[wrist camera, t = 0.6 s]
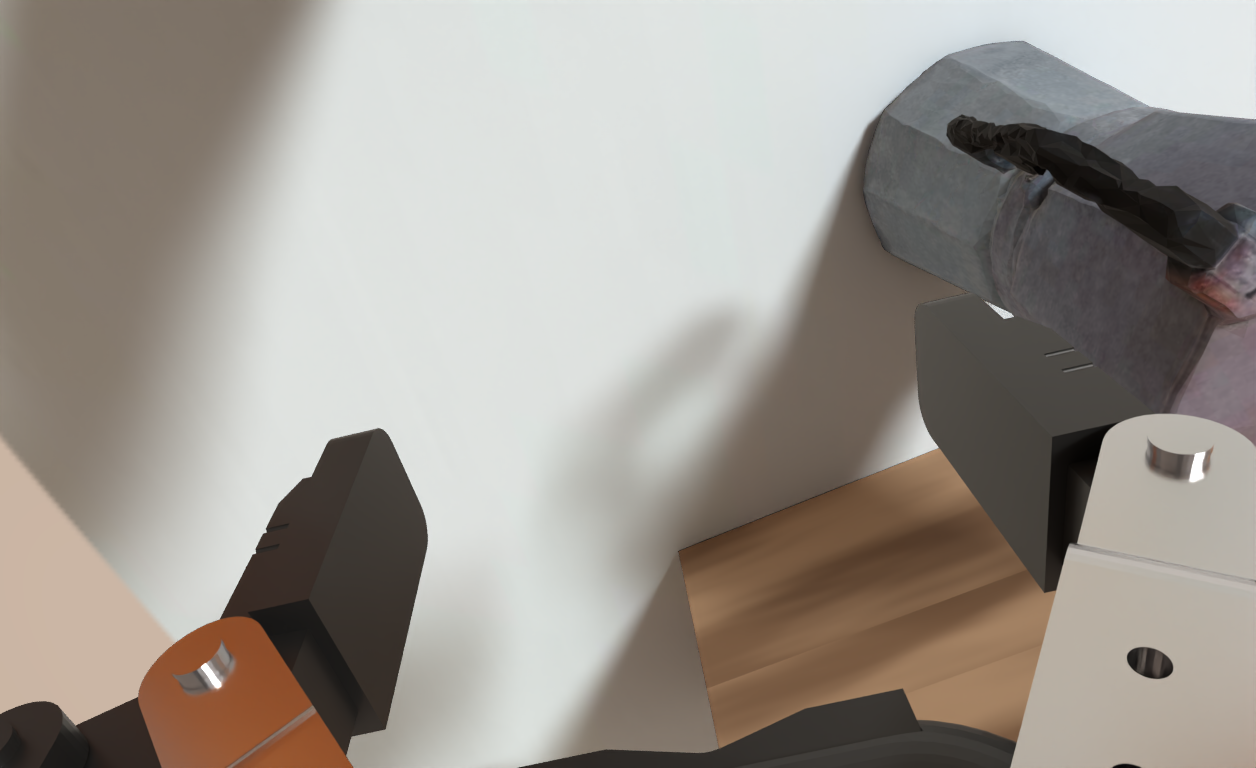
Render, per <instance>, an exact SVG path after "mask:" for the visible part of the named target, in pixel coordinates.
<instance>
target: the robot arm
mask: <svg viewBox="0 0 1256 768" xmlns="http://www.w3.org/2000/svg"><path fill="white" fill-rule="evenodd" d="M915 341H916V361H917V381H918V398H919V405H920V409H921V413H922V417H923V420H924V423H925V425H926V428H927V430H928V432H929V434H930V436H931V437H932V439H933V440H934V441H935V443H936V444H937V446H938V447H939V448H940V450H941V451H942V452H943V454H944V455H945V457H946V458H947V459H948V461H949V462H950V464H951V465H952V466H953V468H954V469H955V470H956V472H957V473H958V475H959V476H960V477H961V479H962V480H963V481H964V483H965V484H966V486H967V487H968V488H969V490H970V491H971V493H972V494H973V495H974V497H975V498H976V499H977V501H978V502H979V504H980V505H981V506H982V508H983V509H984V510H985V512H986V513H987V515H988V516H989V517H990V519H991V520H992V522H993V523H994V524H995V526H996V527H997V528H998V530H999V531H1000V533H1001V534H1002V535H1003V537H1004V538H1005V540H1006V541H1007V542H1008V544H1009V545H1010V546H1011V548H1012V549H1013V551H1014V552H1015V553H1016V555H1017V556H1018V557H1019V559H1020V560H1021V562H1022V563H1023V564H1024V566H1025V567H1026V569H1027V570H1028V571H1029V573H1030V574H1031V575H1032V577H1033V578H1034V580H1035V581H1036V582H1037V584H1038V585H1039V586H1040V588H1041V589H1042V591H1043V592H1044V593H1047V592H1052V591H1056V594H1055V598H1054V602H1053V606H1052V609H1051V613H1050V617H1049V621H1048V625H1047V629H1046V633H1045V636H1044V640H1043V644H1042V648H1041V652H1040V656H1039V659H1038V663H1037V667H1036V671H1035V675H1034V679H1033V682H1032V686H1031V690H1030V694H1029V698H1028V702H1027V706H1026V709H1025V713H1024V717H1023V721H1022V725H1021V729H1020V732H1019V736H1018V740H1017V742H1015V741H1013V740H1010V739H1007V738H1004V737H1002V736H999V735H996V734H993V733H990V732H988V731H985V730H981V729H977V728H972V727H968V726H964V725H960V724H954V723H948V722H941V721H934V720H917V719H916V717H915V714H914V712H913V710H912V708H911V705H910V703H909V701H908V699H907V696H906V694H905V692H904V690H903V688H902V689H897V690H892V691H888V692H883V693H878V694H873V695H868V696H863V697H859V698H854V699H849V700H844V701H839V702H834V703H829V704H825V705H820V706H815V707H810V708H805V709H803V710H801V711H799V712H796V713H794V714H792V715H790V716H788V717H786V718H784V719H782V720H779V721H777V722H775V723H773V724H771V725H769V726H767V727H764V728H762V729H760V730H758V731H756V732H754V733H752V734H750V735H747V736H745V737H743V738H741V739H739V740H737V741H735V742H733V743H730V744H728V745H726V746H724V747H722V748H720V749H717V750H715V751H712V752H707V753H680V752H654V751H628V750H602V751H597V752H592V753H587V754H582V755H577V756H572V757H568V758H563V759H558V760H553V761H548V762H543V763H539V764H534V765H529V766H524V767H519V768H1256V447H1255V446H1254V445H1253V444H1252V442H1251V441H1250V440H1248V439H1247V438H1246V437H1245V436H1243V435H1242V434H1240V433H1239V432H1237V431H1235V430H1233V429H1231V428H1229V427H1227V426H1225V425H1223V424H1220V423H1217V422H1214V421H1211V420H1207V419H1203V418H1199V417H1194V416H1188V415H1179V414H1155V413H1154V412H1153V411H1152V410H1151V409H1149V408H1148V407H1147V406H1146V405H1144V404H1143V403H1142V402H1141V401H1139V400H1138V399H1137V398H1136V397H1135V396H1133V395H1132V394H1131V393H1130V392H1128V391H1127V390H1126V389H1125V388H1124V387H1122V386H1121V385H1120V384H1119V383H1117V382H1116V381H1115V380H1114V379H1112V378H1111V377H1110V376H1109V375H1108V374H1106V373H1105V372H1104V371H1103V370H1101V369H1100V368H1099V367H1098V366H1097V367H1094V366H1093V362H1092V361H1090V360H1089V359H1088V358H1087V357H1086V356H1084V355H1083V354H1082V353H1081V352H1079V351H1075V350H1074V347H1073V346H1072V345H1071V344H1070V343H1068V342H1067V341H1066V340H1065V339H1063V338H1062V337H1061V336H1060V335H1059V334H1057V333H1056V332H1055V331H1054V330H1052V329H1051V328H1048V327H1045V326H1043V325H1040V324H1037V323H1034V322H1032V321H1029V320H1026V319H1023V318H1021V317H1018V316H1016V317H1012V318H1007V319H1003V318H1002V317H1001V316H1000V315H999V314H998V313H996V312H995V311H994V310H993V309H992V308H991V307H990V306H989V305H987V304H986V303H985V302H984V301H983V300H982V299H981V298H979V297H978V296H977V295H976V294H974V293H972V292H971V293H965V294H961V295H957V296H952V297H948V298H944V299H939V300H935V301H931V302H927V303H922V304H919V305H918V306H917V308H916V311H915ZM266 530H267V533H264V534H263V535H262V537H261V539H260V541H259V543H258V545H257V547H256V549H255V550H256V554H253V555H252V557H251V559H250V561H249V563H248V565H247V567H246V569H245V571H244V573H243V575H242V577H241V579H240V581H239V583H238V585H237V587H236V589H235V590H234V592H233V594H232V596H231V598H230V600H229V602H228V604H227V606H226V608H225V610H224V612H223V614H222V616H221V618H220V620H217V621H214V622H211V623H209V624H206V625H204V626H202V627H200V628H198V629H196V630H194V631H193V632H191V633H189V634H187V635H186V636H184V637H183V638H182V639H180V640H179V641H177V642H176V643H175V644H173V645H172V646H171V647H170V648H169V649H167V650H166V651H165V652H164V653H163V654H162V655H161V656H160V657H159V658H158V659H157V661H156V662H155V663H154V664H153V665H152V667H151V668H150V669H149V671H148V672H147V674H146V675H145V677H144V679H143V681H142V683H141V686H140V689H139V693H138V697H137V698H135V699H133V700H131V701H128V702H126V703H124V704H122V705H120V706H118V707H115V708H113V709H111V710H109V711H106V712H104V713H102V714H100V715H98V716H95V717H93V718H91V719H89V720H87V721H85V722H82V723H80V724H78V725H76V726H75V725H74V723H73V722H72V721H71V720H70V719H69V718H68V717H67V716H66V714H65V713H64V712H63V711H62V710H61V709H60V708H59V707H58V705H55V704H54V703H51V702H46V701H43V702H32V703H28V704H24V705H21V706H18V707H15V708H13V709H11V710H8V711H6V712H4V713H2V714H0V768H353V766H352V765H351V763H350V762H349V760H348V759H347V757H346V754H347V751H348V747H349V743H350V739H351V737H352V736H356V735H361V734H366V733H371V732H375V731H380V730H385V729H386V725H387V721H388V716H389V712H390V708H391V703H392V699H393V695H394V690H395V686H396V681H397V677H398V673H399V668H400V664H401V660H402V655H403V651H404V646H405V642H406V638H407V633H408V629H409V625H410V620H411V616H412V611H413V607H414V603H415V598H416V594H417V590H418V585H419V581H420V577H421V572H422V568H423V563H424V559H425V555H426V550H427V543H428V534H427V525H426V520H425V516H424V513H423V509H422V507H421V505H420V502H419V500H418V498H417V496H416V494H415V491H414V489H413V487H412V485H411V483H410V480H409V478H408V476H407V474H406V472H405V469H404V467H403V465H402V463H401V461H400V458H399V456H398V454H397V452H396V450H395V447H394V445H393V443H392V441H391V439H390V437H389V436H388V434H387V433H386V432H385V431H384V430H382V429H380V428H378V429H373V430H369V431H365V432H360V433H356V434H352V435H347V436H343V437H339V438H334V439H331V440H330V441H329V442H328V443H327V445H326V447H325V449H324V451H323V454H322V456H321V458H320V460H319V462H318V464H317V466H316V468H315V470H314V473H313V475H312V477H309V478H304V479H302V480H301V481H300V482H299V483H298V484H297V485H296V486H295V487H294V488H293V489H292V490H291V491H290V492H289V493H288V494H287V496H286V497H285V498H284V499H283V500H282V501H281V502H280V503H279V504H278V506H277V508H276V510H275V512H274V514H273V516H272V518H271V520H270V521H269V523H268V525H267V527H266Z"/></svg>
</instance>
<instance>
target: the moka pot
mask: <svg viewBox="0 0 1256 768" xmlns="http://www.w3.org/2000/svg"><path fill="white" fill-rule="evenodd" d="M863 193H864V198H865V203H866V206H867V209H868V211H869V214H870V217H871V220H872V222H873V225H874V227H875V230H876V232H877V235H878V237H879V239H880V241H881V244H882V246H883V248H884V249H885V250H886V251H888V252H889V253H891V254H892V255H894V256H896V257H898V258H900V259H902V260H904V261H905V262H907V263H909V264H912V265H914V266H916V267H918V268H920V269H922V270H924V271H926V272H928V273H931V274H933V275H935V276H937V277H939V278H941V279H943V280H945V281H947V282H949V283H951V284H953V285H955V286H957V287H959V288H961V289H963V290H965V291H967V292H969V293H971V292H972V293H974V294H976V295H977V296H978V297H979V298H981V299H983V300H985V301H987V302H989V303H991V304H993V305H995V306H997V307H999V308H1001V309H1004V310H1006V311H1008V312H1010V313H1012V315H1013V316H1014V317H1016V316H1018V317H1021V318H1023V319H1026V320H1029V321H1032V322H1034V323H1037V324H1040V325H1043V326H1045V327H1048V328H1051V329H1052V330H1054V331H1055V332H1056V333H1057V334H1059V335H1060V336H1061V337H1062V338H1063V339H1065V340H1066V341H1067V342H1068V343H1070V344H1071V345H1072V346H1073V347H1074V350H1075V351H1079V352H1081V353H1082V354H1083V355H1084V356H1086V357H1087V358H1088V359H1089V360H1090V361H1092V362H1093V366H1094V367H1097V366H1098V367H1099V368H1100V369H1101V370H1103V371H1104V372H1105V373H1106V374H1108V375H1109V376H1110V377H1111V378H1112V379H1114V380H1115V381H1116V382H1117V383H1119V384H1120V385H1121V386H1122V387H1124V388H1125V389H1126V390H1127V391H1128V392H1130V393H1131V394H1132V395H1133V396H1135V397H1136V398H1137V399H1138V400H1139V401H1141V402H1142V403H1143V404H1144V405H1146V406H1147V407H1148V408H1149V409H1151V410H1152V411H1153V412H1154V413H1155V414H1179V415H1188V416H1194V417H1199V418H1203V419H1207V420H1211V421H1214V422H1217V423H1220V424H1223V425H1225V426H1227V427H1229V428H1231V429H1233V430H1235V431H1237V432H1239V433H1240V434H1242V435H1243V436H1245V437H1246V438H1247V439H1248V440H1250V441H1251V442H1252V444H1253V445H1254V446H1255V447H1256V119H1245V118H1234V117H1222V116H1211V115H1201V114H1190V113H1179V112H1175V111H1171V110H1168V109H1161V108H1154V107H1149V106H1148V105H1146V104H1144V103H1142V102H1140V101H1138V100H1136V99H1134V98H1132V97H1130V96H1129V95H1127V94H1125V93H1123V92H1121V91H1120V90H1118V89H1116V88H1114V87H1112V86H1110V85H1108V84H1106V83H1104V82H1102V81H1100V80H1098V79H1096V78H1094V77H1092V76H1090V75H1088V74H1086V73H1084V72H1083V71H1081V70H1079V69H1077V68H1075V67H1073V66H1071V65H1069V64H1068V63H1066V62H1064V61H1062V60H1060V59H1058V58H1056V57H1054V56H1052V55H1050V54H1048V53H1046V52H1044V51H1042V50H1040V49H1038V48H1036V47H1034V46H1032V45H1030V44H1028V43H1026V42H1024V41H1011V42H1001V43H992V44H986V45H981V46H977V47H973V48H970V49H966V50H963V51H959V52H956V53H952V54H949V55H947V56H945V57H944V58H942V59H941V60H939V61H938V62H936V63H935V64H933V65H932V66H931V67H929V68H928V69H927V70H925V71H924V72H923V73H922V74H921V75H920V76H919V77H918V78H917V79H916V80H915V81H914V82H912V83H911V84H910V85H909V86H908V87H907V88H906V89H905V90H904V91H903V92H902V93H901V94H900V95H899V96H898V97H897V98H896V99H895V100H894V101H893V102H892V103H891V104H890V105H889V106H888V107H886V108H885V109H884V111H883V113H882V115H881V117H880V120H879V123H878V125H877V128H876V130H875V133H874V136H873V140H872V144H871V146H870V148H869V153H868V159H867V162H866V167H865V178H864V188H863Z"/></svg>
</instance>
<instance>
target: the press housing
mask: <svg viewBox="0 0 1256 768" xmlns="http://www.w3.org/2000/svg"><path fill="white" fill-rule="evenodd" d="M678 552H679V557H680V562H681V567H682V571H683V576H684V581H685V586H686V591H687V596H688V600H689V605H690V610H691V615H692V620H693V625H694V630H695V634H696V639H697V644H698V649H699V654H700V659H701V663H702V668H703V673H704V678H705V683H706V688H707V692H708V697H709V702H710V707H711V712H712V717H713V721H714V726H715V731H716V736H717V741H718V746H719V749H720V748H722V747H724V746H726V745H728V744H730V743H733V742H735V741H737V740H739V739H741V738H743V737H745V736H747V735H750V734H752V733H754V732H756V731H758V730H760V729H762V728H764V727H767V726H769V725H771V724H773V723H775V722H777V721H779V720H782V719H784V718H786V717H788V716H790V715H792V714H794V713H796V712H799V711H801V710H803V709H805V708H810V707H815V706H820V705H825V704H829V703H834V702H839V701H844V700H849V699H854V698H859V697H863V696H868V695H873V694H878V693H883V692H888V691H892V690H897V689H902V688H903V690H904V692H905V694H906V696H907V699H908V701H909V703H910V705H911V708H912V710H913V712H914V714H915V717H916V719H917V720H934V721H941V722H948V723H954V724H960V725H964V726H968V727H972V728H977V729H981V730H985V731H988V732H990V733H993V734H996V735H999V736H1002V737H1004V738H1007V739H1010V740H1013V741H1015V742H1017V740H1018V736H1019V732H1020V729H1021V725H1022V721H1023V717H1024V713H1025V709H1026V706H1027V702H1028V698H1029V694H1030V690H1031V686H1032V682H1033V679H1034V675H1035V671H1036V667H1037V663H1038V659H1039V656H1040V652H1041V648H1042V644H1043V640H1044V636H1045V633H1046V629H1047V625H1048V621H1049V617H1050V613H1051V609H1052V606H1053V602H1054V598H1055V594H1056V591H1052V592H1047V593H1044V592H1043V591H1042V589H1041V588H1040V586H1039V585H1038V584H1037V582H1036V581H1035V580H1034V578H1033V577H1032V575H1031V574H1030V573H1029V571H1028V570H1027V569H1026V567H1025V566H1024V564H1023V563H1022V562H1021V560H1020V559H1019V557H1018V556H1017V555H1016V553H1015V552H1014V551H1013V549H1012V548H1011V546H1010V545H1009V544H1008V542H1007V541H1006V540H1005V538H1004V537H1003V535H1002V534H1001V533H1000V531H999V530H998V528H997V527H996V526H995V524H994V523H993V522H992V520H991V519H990V517H989V516H988V515H987V513H986V512H985V510H984V509H983V508H982V506H981V505H980V504H979V502H978V501H977V499H976V498H975V497H974V495H973V494H972V493H971V491H970V490H969V488H968V487H967V486H966V484H965V483H964V481H963V480H962V479H961V477H960V476H959V475H958V473H957V472H956V470H955V469H954V468H953V466H952V465H951V464H950V462H949V461H948V459H947V458H946V457H945V455H944V454H943V452H942V451H941V450H940V448H938V449H936V450H933V451H931V452H928V453H926V454H923V455H921V456H918V457H916V458H913V459H910V460H908V461H905V462H903V463H900V464H898V465H895V466H893V467H890V468H888V469H885V470H883V471H880V472H878V473H875V474H873V475H870V476H867V477H865V478H862V479H860V480H857V481H855V482H852V483H850V484H847V485H845V486H842V487H840V488H837V489H835V490H832V491H830V492H827V493H824V494H822V495H819V496H817V497H814V498H812V499H809V500H807V501H804V502H802V503H799V504H797V505H794V506H792V507H789V508H787V509H784V510H782V511H779V512H776V513H774V514H771V515H769V516H766V517H764V518H761V519H759V520H756V521H754V522H751V523H749V524H746V525H744V526H741V527H739V528H736V529H733V530H731V531H728V532H726V533H723V534H721V535H718V536H716V537H713V538H711V539H708V540H706V541H703V542H701V543H698V544H696V545H693V546H690V547H688V548H685V549H683V550H680V551H678Z"/></svg>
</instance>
